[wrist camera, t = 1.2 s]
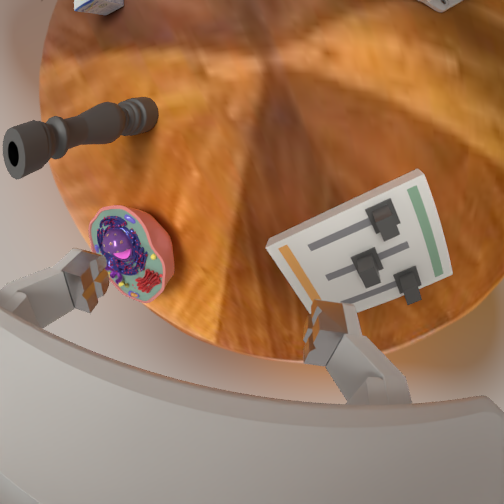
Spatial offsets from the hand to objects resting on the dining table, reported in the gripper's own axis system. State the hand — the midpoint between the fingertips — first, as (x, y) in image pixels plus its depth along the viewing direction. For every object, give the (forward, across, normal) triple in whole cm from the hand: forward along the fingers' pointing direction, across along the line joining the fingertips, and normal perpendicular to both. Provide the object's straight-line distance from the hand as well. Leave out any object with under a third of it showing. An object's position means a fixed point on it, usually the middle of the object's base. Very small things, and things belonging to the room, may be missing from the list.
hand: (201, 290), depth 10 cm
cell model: (+36, +19, +21) cm, 46 cm away
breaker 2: (+26, -26, +14) cm, 39 cm away
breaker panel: (+30, -19, +12) cm, 38 cm away
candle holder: (+35, +21, -3) cm, 41 cm away
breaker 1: (+27, -18, +5) cm, 33 cm away
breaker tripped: (+27, -18, +13) cm, 35 cm away
